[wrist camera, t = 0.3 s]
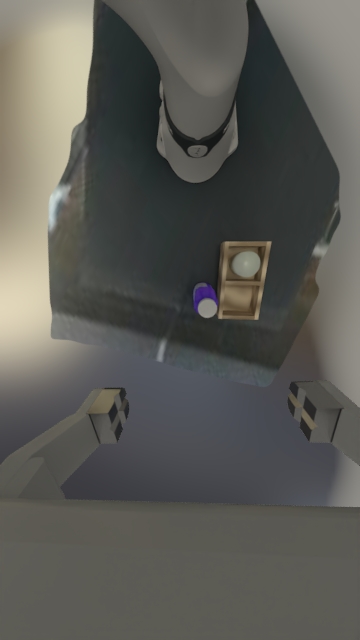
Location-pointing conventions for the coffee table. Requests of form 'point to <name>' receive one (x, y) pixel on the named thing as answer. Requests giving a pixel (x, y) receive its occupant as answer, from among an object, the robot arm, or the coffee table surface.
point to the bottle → (205, 300)
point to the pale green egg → (244, 263)
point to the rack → (241, 282)
